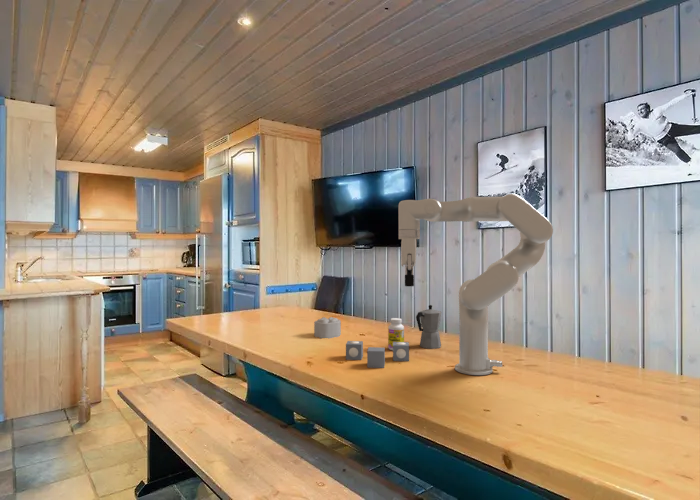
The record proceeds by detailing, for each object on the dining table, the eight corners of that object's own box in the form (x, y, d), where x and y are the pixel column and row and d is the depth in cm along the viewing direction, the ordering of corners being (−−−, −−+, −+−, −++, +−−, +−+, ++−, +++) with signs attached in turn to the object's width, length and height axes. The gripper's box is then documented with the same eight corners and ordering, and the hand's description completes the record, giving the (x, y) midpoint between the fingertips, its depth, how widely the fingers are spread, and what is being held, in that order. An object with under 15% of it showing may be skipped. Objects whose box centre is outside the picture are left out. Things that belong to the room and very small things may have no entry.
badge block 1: (362, 356, 169) (362, 340, 169) (361, 360, 163) (361, 344, 163) (347, 355, 170) (347, 340, 170) (345, 360, 164) (345, 343, 164)
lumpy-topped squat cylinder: (311, 335, 209) (311, 318, 209) (332, 332, 218) (332, 315, 218) (324, 339, 201) (324, 320, 201) (345, 335, 210) (345, 318, 210)
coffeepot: (431, 342, 194) (431, 302, 194) (448, 346, 186) (448, 304, 186) (408, 347, 184) (408, 305, 184) (425, 351, 177) (425, 308, 177)
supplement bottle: (385, 350, 180) (385, 319, 179) (391, 346, 185) (391, 317, 185) (400, 351, 176) (400, 320, 176) (406, 348, 182) (406, 318, 182)
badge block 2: (408, 357, 167) (408, 341, 167) (409, 361, 161) (409, 345, 161) (393, 357, 168) (393, 341, 168) (393, 361, 162) (393, 345, 162)
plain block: (384, 363, 158) (384, 347, 158) (384, 368, 153) (384, 351, 153) (368, 363, 159) (368, 347, 159) (367, 367, 153) (367, 350, 153)
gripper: (398, 235, 161) (398, 284, 161) (398, 234, 146) (398, 288, 146) (418, 235, 160) (419, 284, 160) (420, 234, 146) (420, 288, 146)
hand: (409, 286), depth 153 cm, fingers closed
